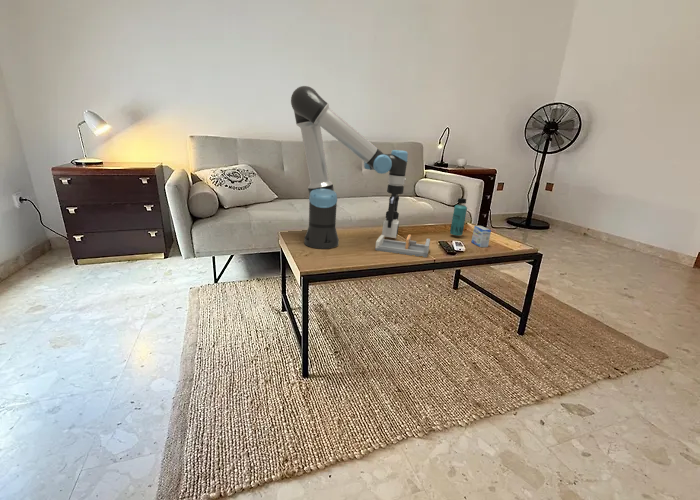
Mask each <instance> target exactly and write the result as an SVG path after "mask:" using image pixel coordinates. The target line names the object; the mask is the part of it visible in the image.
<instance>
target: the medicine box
mask: <svg viewBox="0 0 700 500" xmlns="http://www.w3.org/2000/svg"><path fill="white" fill-rule="evenodd" d="M491 232H492V229H489V228H488V227H484V226H483V225H474V226H473V232H472V236H471V244H474V245H475V246H476V247H480V248H488V247H489V244H490V243H489V242H490V238H491V235H492V233H491Z"/></svg>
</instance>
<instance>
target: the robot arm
mask: <svg viewBox="0 0 700 500" xmlns="http://www.w3.org/2000/svg"><path fill="white" fill-rule="evenodd" d="M290 104H291V107H292V110H293V114H294V119H295V123H296V126H298V127H299V128H300V132H301V138H302V143H303V148H304V153H305V159H306V160H305V161H306V165H307V166H306V167H307V170H308V171H307V172H308V175H309V185H308V186H307V191H308V194H309V197H308V201H309V208H308V210H309V211H308V227H307V231H306V233H305V235H304V241H303V243H304V245H305V246H307V247H310V248H314V249H321V250H322V249H323V250H325V249H333V248H336V247H338V246H339V242H340V241H339V239H340V238H339V235H338V232H337V229H336V227H337V226H336V224H337V222H336V221H337V205H338V204H337V203H338V195H337V192H336V191H335V189H334V183H333V182H332V181H331V180H330V178H329V173H328V165H327V160H326V153H325V148H324V141H323V134H322V129H324V130H325V132H327V133H328V134H330V136H332V137H333V138H335V139H336V140H337V141H338V142H340V144H342V145H343V146H345V148H347V149H348V150H350V151H351V153H353V154H354V155H355V156H357V158H359V159H361V160H362V161H363V166H364V167H363V168H364V169H366V170H370V171H374V172H376V173H378V174H381V175H382V174H383V175H384V174H386V173H388V172H389V174H388V178H387V179H388V180H387V183H388V184H387V190H386V193H388V194H390V195H391V196H389V199H388V209H387V211H388V215H387V219H386V220H387V228H386V234H390V235H391V234H392V227H393V217H394V211H396V212H398V206H399V200H400V196H399V195H402V194H404V188H405V186H404V185H405V181H407V178H406V171H407V165H408V157H409V156H408V155H409V154H408V151H406V150H402V149H401V150H399V149H392V150H391V153H384V152H382V151H381V150H380V149H378V147H376V145H374V144H373V143H371V141H370V140H368V139H367V138H366V137H364V136H363V135H362V134H361V133H360V132H359V131H357V130H356V129H355V128H354V127H353V126H351V125H350V124H349V123H348V122H346V121H345V120H344V119H343V118H342V117H341V116H340V115H338V114H337V113H336V112H335V111H333V110H332V109H331V108H330V105H329V103H328V102H327V101H326V100H325V99H324V98H322V97H321V96H320V95H319V93H318V92H317V91H316V89H314V88H312V87H310V86H309V85H308V86H307V85H302V86H301V85H300V86H298V87H297V88H296V89H294V90H293V92H292V94H291V97H290Z"/></svg>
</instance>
